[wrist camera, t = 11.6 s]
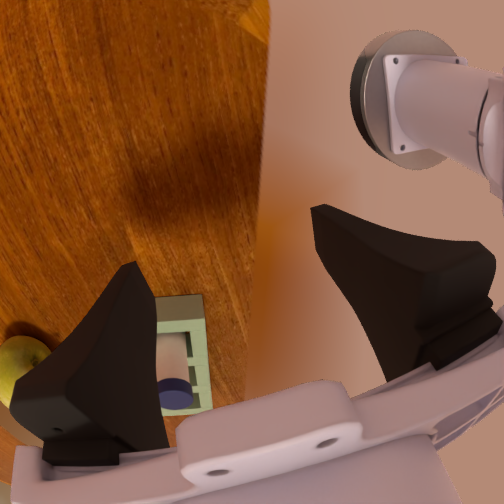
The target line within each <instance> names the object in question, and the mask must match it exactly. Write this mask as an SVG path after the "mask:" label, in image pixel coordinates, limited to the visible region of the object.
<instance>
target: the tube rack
mask: <svg viewBox="0 0 504 504" xmlns="http://www.w3.org/2000/svg"><path fill="white" fill-rule="evenodd" d="M155 301H156V310H157V333H171V332H184V331H190V333H188V334H185V336H186V349H187V360H188V371H189V381H190V384H191V386H192V390H193V399H194V400H193V403H192V404H191V405H190V406H189V407H187V408H184V409H180V410H168V409H164V408H161V410H162V416H174V415H188V414H198V413H200V412H203V411H207V410H211V409H213V406H212V396H211V386H210V375H209V364H208V352H207V339H206V326H205V315H204V308H203V300H202V294H197V295H184V296H170V297H156V298H155Z"/></svg>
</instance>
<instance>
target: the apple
mask: <svg viewBox="0 0 504 504" xmlns="http://www.w3.org/2000/svg"><path fill="white" fill-rule="evenodd" d="M50 354H51V351H50V350H49V348H48V347H47V346H46V345H45V344H44V343H42V342H41V341H39V340H37V339H35V338H32V337H29V336H20V335H18V336H13V337H11V338H9V339H8V340H6V341H5V342H4V343H3V344H2V345H1V346H0V400H1V402H3V404H4V405H6V406H7V407H8V408H9V405H10V401H11V397H12V393H13V389H14V385H15V382H16V380H17V379H19V378H20V377H22V376H23V375H24V374H26V373H27V372H29V371H30V370H31V369H33V368H34V367H35V366H37V365H38V364H39V363H40V362H41V361H43V360H44V359H45V358H46V357H47V356H48V355H50Z"/></svg>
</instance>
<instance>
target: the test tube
mask: <svg viewBox="0 0 504 504" xmlns="http://www.w3.org/2000/svg"><path fill="white" fill-rule="evenodd" d="M156 375H157V384H158V392H159V398H160V405H161V408H164V409H168V410H180V409H184V408H187V407H189V406H190V405H191V404H192V403H193V400H194V399H193V390H192V386H191V384H190V381H189V371H188V360H187V349H186V336H185V331H184V332H171V333H157V345H156Z"/></svg>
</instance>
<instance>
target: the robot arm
mask: <svg viewBox="0 0 504 504" xmlns="http://www.w3.org/2000/svg"><path fill="white" fill-rule="evenodd" d="M394 58H395V60H396V62H395V64H394V62H393V59H394ZM383 68H384V76H385V84H386V93H387V103H388V115H389V129H390V146H391V151H392V153H394V154H403V153H407V152H412V151H417V150H422V149H427V148H430V149H432V150H434V151H436V152H438V153H440V154H442V155H444V156H446V157H448V158H450V159H452V160H453V161H456V162H457V163H459V164H461V165H463V166H465V167H467V168H468V169H470V170H472V171H474V172H476V173H477V174H479V175H481V176H482V177H484V178H486V179H488V180H489V183H490V192H491V193H492V194H494V195H495V196H497V197H498V198H500V199H501V200H503V201H502V212H503V216H504V67H503V74H501V73H497V72H493V71H489V70H484V69H479V68H475V67H469V66H468V62H467V59H465V57H459V56H445V55H421V54H390V55H385V56H384V57H383ZM401 145H403V147H402V149H400V147H401ZM310 209H311V216H312V224H313V231H314V240H315V248H316V251H317V253H318V255H319V257H320V259H321V261H322V263H323V265H324V267H325V269H326V270H327V272H328V273H329V274H330V276H331V277H332V279H333V280H334V282H335V283H336V285H337V286H338V287H339V289H340V290H341V292H342V293H343V295H344V296H345V297H346V299H347V300H348V302H349V303H350V305H351V306H352V308H353V309H354V311H355V313H356V315H357V317H358V319H359V320H360V322H361V324H362V326H363V328H364V330H365V332H366V334H367V336H368V339H369V341H370V343H371V345H372V347H373V349H374V352H375V354H376V356H377V359H378V361H379V364H380V366H381V368H382V371H383V373H384V375H385V378H386V381H387V383H385V384H383V385H381V386H379V387H377V388H374V389H372V390H370V391H367V392H365V393H362V394H360V395H358V396H355V397H353V398H351V399H350V398H349V396H348V393H347V391H346V389H345V388H344V386H343V384H342V383H341V382H336V381H328V380H318V381H313V382H308V383H303V384H300V385H297V386H294V387H291V388H288V389H284V390H281V391H278V392H275V393H272V394H268V395H265V396H261V397H258V398H254V399H251V400H247V401H243V402H239V403H236V404H232V405H228V406H224V407H220V408H215V409H211V410H207V411H203V412H200V413H198V414H195V415H192V416H190V417H187V418H186V419H185V420H183V422H182V423H181V424H180V425H179V426H178V427H177V428H176V429H175V430H176V441H177V447H171V448H170V446H169V442H168V438H167V434H166V430H165V425H164V421H163V416H162V410H161V405H160V398H159V392H158V384H157V375H156V345H157V310H156V301H155V297H154V295H153V293H152V291H151V289H150V288H149V286H148V284H147V282H146V280H145V278H144V276H143V274H142V272H141V271H140V269H139V267H138V265H137V263H136V261H134V262H130V263H127V264H124V265H122V266H121V267H120V268H119V270H118V271H117V272H116V274H115V275H114V276H113V278H112V279H111V281H110V282H109V284H108V285H107V287H106V288H105V289H104V291H103V292H102V294H101V295H100V297H99V298H98V300H97V301H96V302H95V304H94V305H93V306H92V308H91V309H90V310H89V312H88V313H87V315H86V316H85V317H84V318H83V320H82V321H81V322H80V323H79V325H78V326H77V327H76V328H75V329H74V330H73V332H72V333H71V334H70V335H69V336H68V337H67V338H66V339H65V340H64V341H63V342H62V343H61V344H60V345H59V346H58V347H57V348H56V349H55V350H54V351H53V352H52V353H51V354H50V355H48V356H47V357H46V358H45V359H44V360H43V361H41V362H40V363H39V364H38V365H37V366H35V367H34V368H33V369H31V370H30V371H29V372H27V373H26V374H24V375H23V376H22V377H20V378H19V379H17V380H16V382H15V385H14V389H13V393H12V397H11V401H10V405H9V410H10V413H11V415H12V416H13V417H14V419H15V420H16V421H17V422H18V423H19V424H21V425H22V426H23V427H24V428H26V429H27V430H29V431H30V432H31V433H33V434H34V435H36V436H37V437H38V438H40V439H41V440H43V441H44V446H43V448H40V447H37V446H21V445H18V446H16V451H15V458H14V466H13V475H12V485H11V502H12V503H13V504H463V503H462V501H461V499H460V497H459V495H458V492H457V490H456V488H455V487H454V484H453V482H452V480H451V478H450V476H449V474H448V472H447V470H446V468H445V466H444V464H443V463H442V461H441V459H440V457H439V455H438V453H437V451H439V450H440V449H442V448H443V447H445V446H446V445H448V444H449V443H451V442H452V441H454V440H455V439H456V438H458V437H459V436H461V435H462V434H463V433H465V432H466V431H468V430H469V429H470V428H472V427H473V426H474V425H476V424H477V423H478V422H480V421H481V420H482V419H484V418H485V417H486V416H487V415H489V414H490V413H491V412H492V411H494V410H495V409H496V408H497V407H498V406H499V405H501V404H502V403H503V402H504V305H503V306H502V307H501V308H500V309H499V310H498V311H497V312H496V313H495V312H494V311H493V309H492V308H491V307H492V305H493V301H492V300H491V299H490V298H489V297H488V293H489V290H490V287H491V285H492V281H493V279H494V275H495V271H496V259H495V256H494V255H493V254H492V253H491V252H490V251H489V250H488V249H487V248H485V247H484V246H483V245H482V244H481V243H480V242H478V241H451V240H442V239H434V238H427V237H422V236H416V235H411V234H407V233H403V232H399V231H396V230H392V229H389V228H386V227H382V226H380V225H377V224H374V223H371V222H369V221H366V220H363V219H361V218H358V217H356V216H354V215H351V214H349V213H347V212H344V211H342V210H340V209H337V208H335V207H332V206H330V205H327V204H322V205H319V206H315V207H312V208H310Z"/></svg>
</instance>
